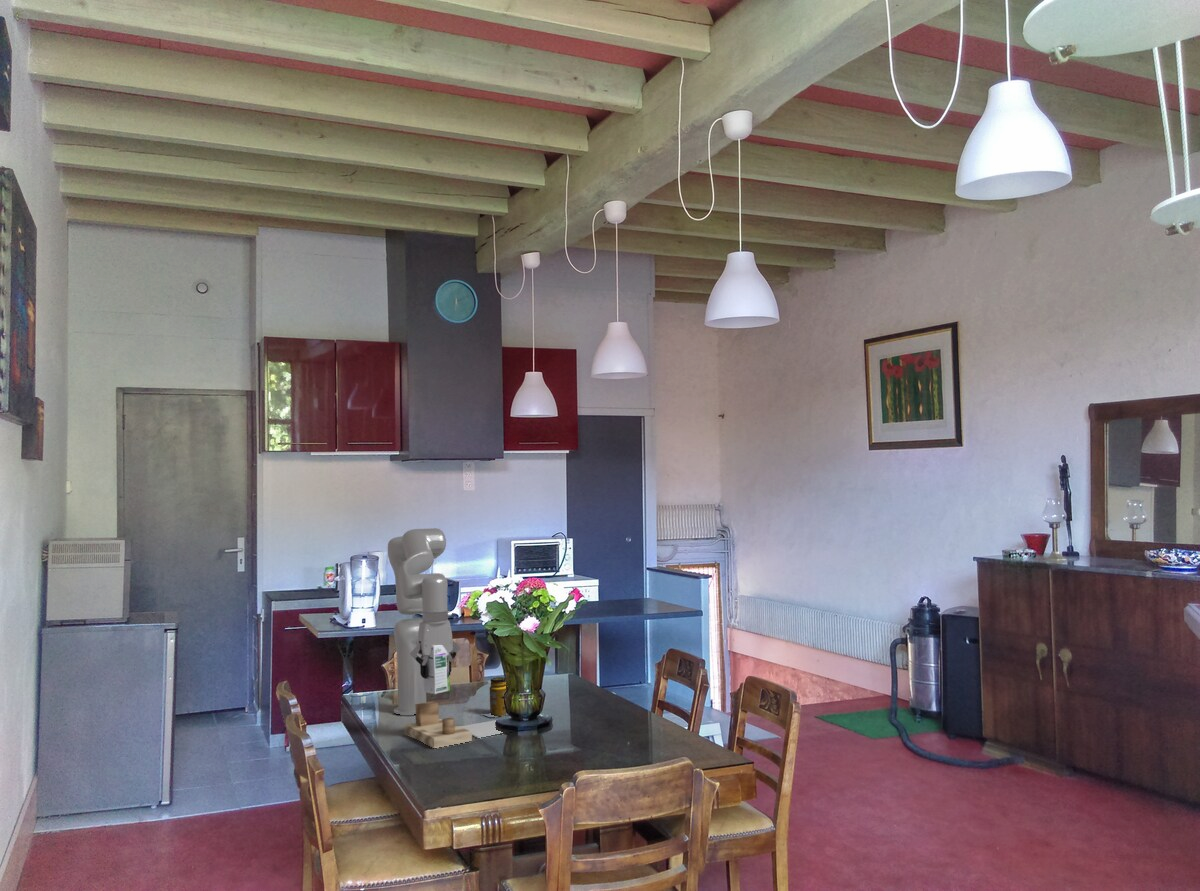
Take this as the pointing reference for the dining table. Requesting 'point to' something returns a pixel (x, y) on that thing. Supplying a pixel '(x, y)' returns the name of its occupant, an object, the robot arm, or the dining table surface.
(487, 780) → the dining table surface
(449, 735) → the wooden frame with peg
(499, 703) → the condiment
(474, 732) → the grey mat
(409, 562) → the robot arm
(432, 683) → the syrup box
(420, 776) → the dining table surface
